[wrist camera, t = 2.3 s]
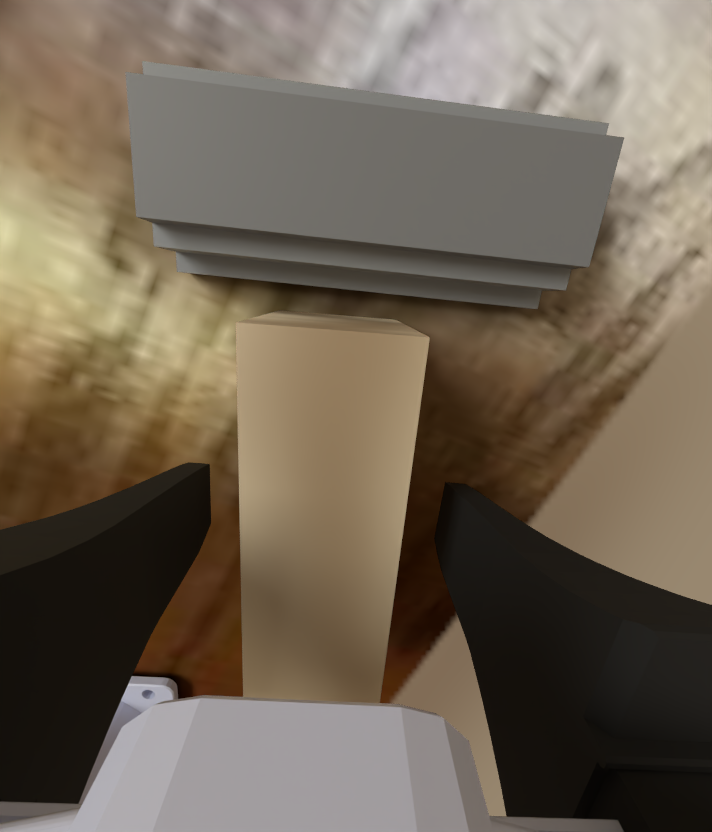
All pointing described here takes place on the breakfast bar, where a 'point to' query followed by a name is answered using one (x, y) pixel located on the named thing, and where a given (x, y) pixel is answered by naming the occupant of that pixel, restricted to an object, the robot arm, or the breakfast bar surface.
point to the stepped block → (364, 187)
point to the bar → (323, 497)
